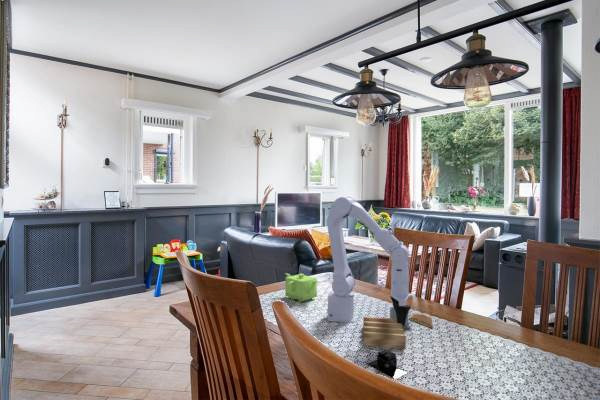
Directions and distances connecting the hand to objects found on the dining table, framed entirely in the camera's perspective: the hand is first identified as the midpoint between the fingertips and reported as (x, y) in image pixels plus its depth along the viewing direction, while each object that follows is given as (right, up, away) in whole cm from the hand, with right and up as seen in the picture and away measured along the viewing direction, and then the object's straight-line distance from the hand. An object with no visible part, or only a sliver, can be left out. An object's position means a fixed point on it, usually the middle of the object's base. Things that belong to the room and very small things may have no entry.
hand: (399, 320), depth 122 cm
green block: (-34, -1, +32) cm, 46 cm away
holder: (0, -2, 0) cm, 2 cm away
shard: (+11, -3, +5) cm, 12 cm away
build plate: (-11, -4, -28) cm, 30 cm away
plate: (0, -2, 0) cm, 2 cm away
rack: (-8, -2, -9) cm, 12 cm away
